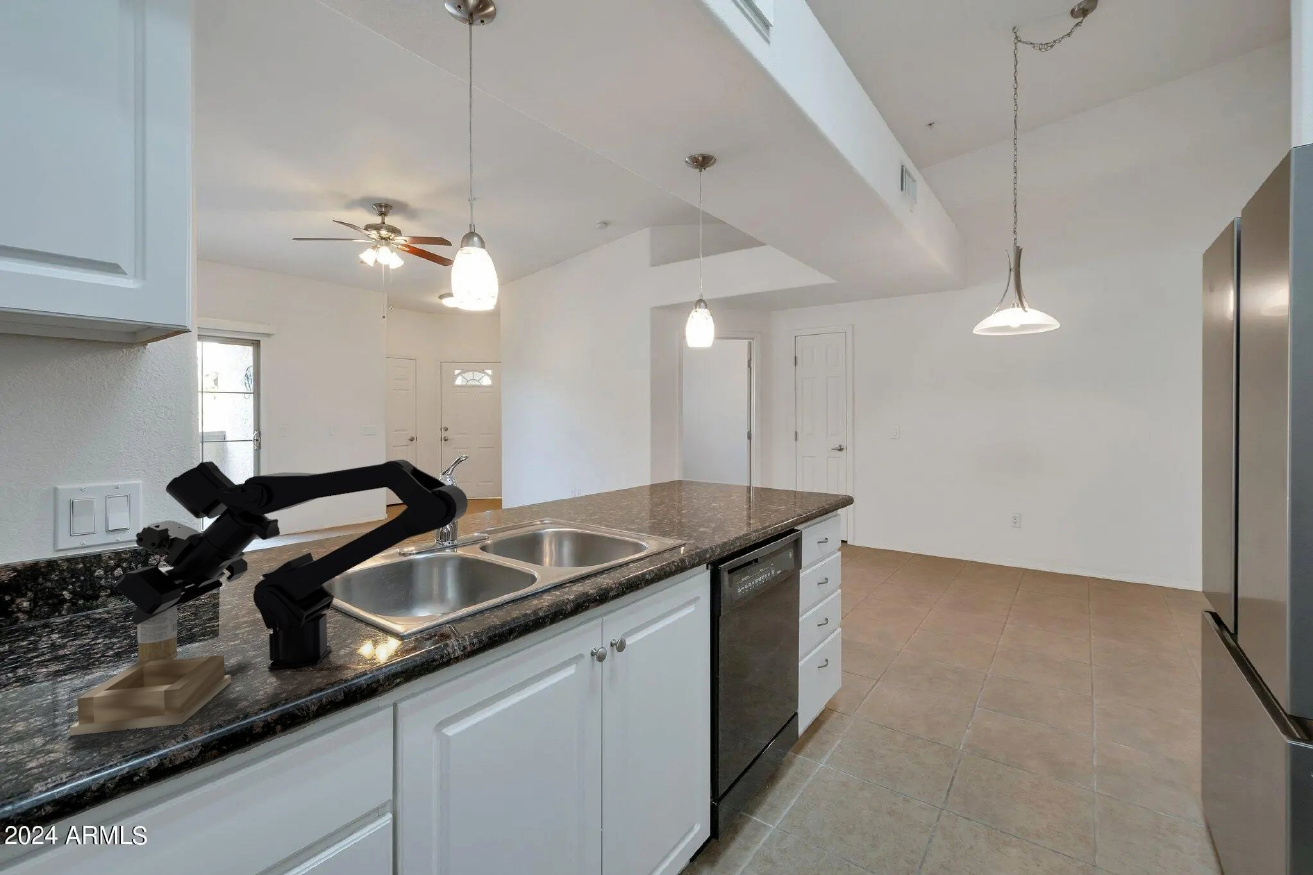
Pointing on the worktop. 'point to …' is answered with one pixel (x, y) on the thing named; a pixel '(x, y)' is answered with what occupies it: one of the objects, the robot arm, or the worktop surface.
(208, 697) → the caddy
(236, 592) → the worktop surface
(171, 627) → the sprinkles bottle
